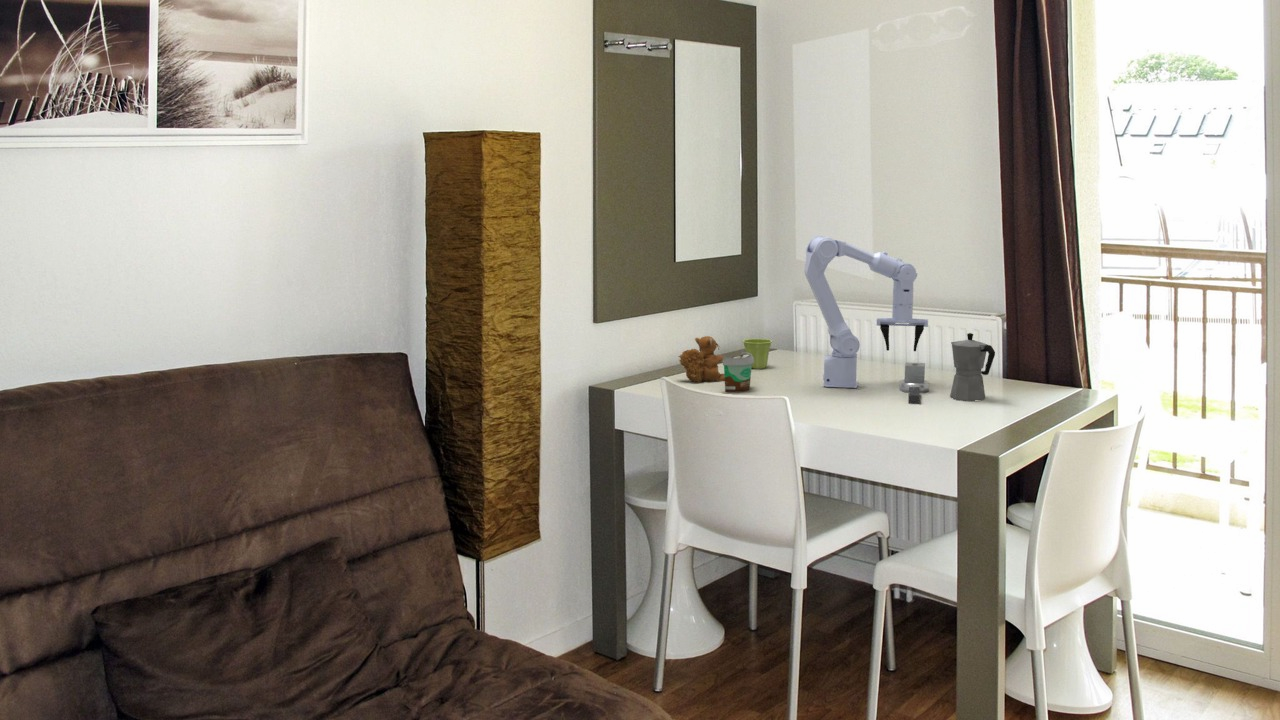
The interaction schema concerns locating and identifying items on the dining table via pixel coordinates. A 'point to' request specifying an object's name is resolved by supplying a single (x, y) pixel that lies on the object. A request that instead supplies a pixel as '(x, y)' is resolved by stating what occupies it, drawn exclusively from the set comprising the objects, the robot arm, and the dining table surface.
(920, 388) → the ratchet
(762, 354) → the plant pot
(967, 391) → the coffeepot
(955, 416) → the dining table surface
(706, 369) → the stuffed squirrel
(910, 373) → the grey cube
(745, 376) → the food container
